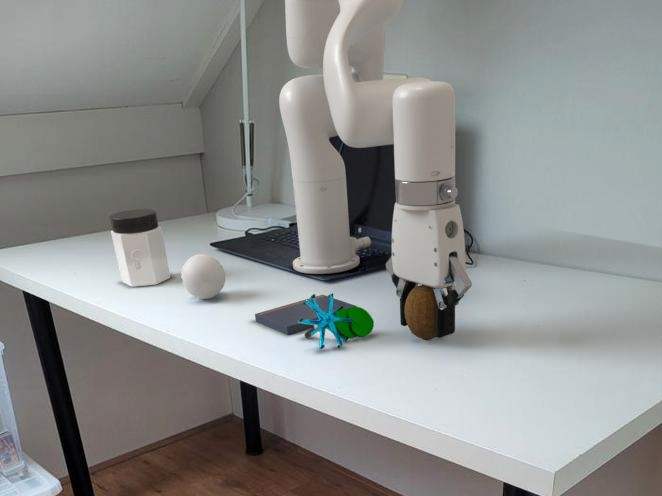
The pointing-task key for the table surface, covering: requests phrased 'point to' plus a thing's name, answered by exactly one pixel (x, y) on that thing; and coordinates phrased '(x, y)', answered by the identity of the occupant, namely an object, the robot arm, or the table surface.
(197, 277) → the white sphere
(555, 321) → the table surface
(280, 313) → the notebook
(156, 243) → the jar
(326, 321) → the stick construction toy
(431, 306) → the fruit
